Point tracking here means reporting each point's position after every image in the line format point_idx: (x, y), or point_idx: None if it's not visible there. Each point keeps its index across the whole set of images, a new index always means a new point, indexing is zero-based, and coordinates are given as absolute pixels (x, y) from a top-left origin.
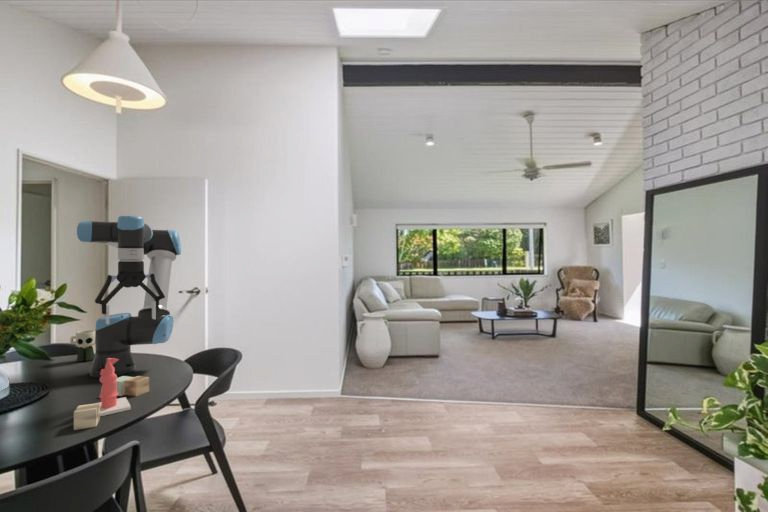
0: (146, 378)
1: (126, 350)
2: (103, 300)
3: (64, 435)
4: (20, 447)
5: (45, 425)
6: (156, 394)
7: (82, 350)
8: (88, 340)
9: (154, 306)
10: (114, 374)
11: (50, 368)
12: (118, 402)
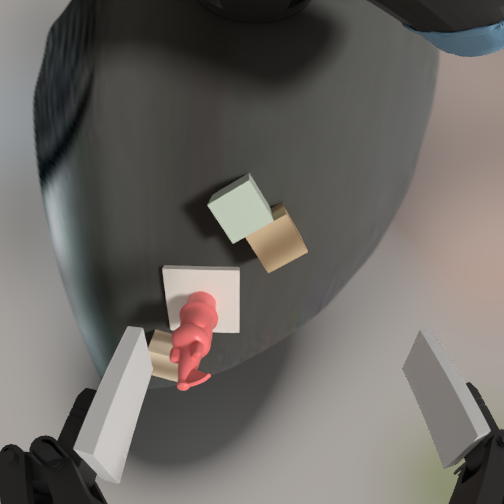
0: (299, 256)
1: None
2: (56, 483)
3: None
4: (101, 358)
5: (109, 305)
6: (306, 273)
7: None
8: None
9: (437, 434)
10: (203, 356)
11: None
12: (220, 296)
